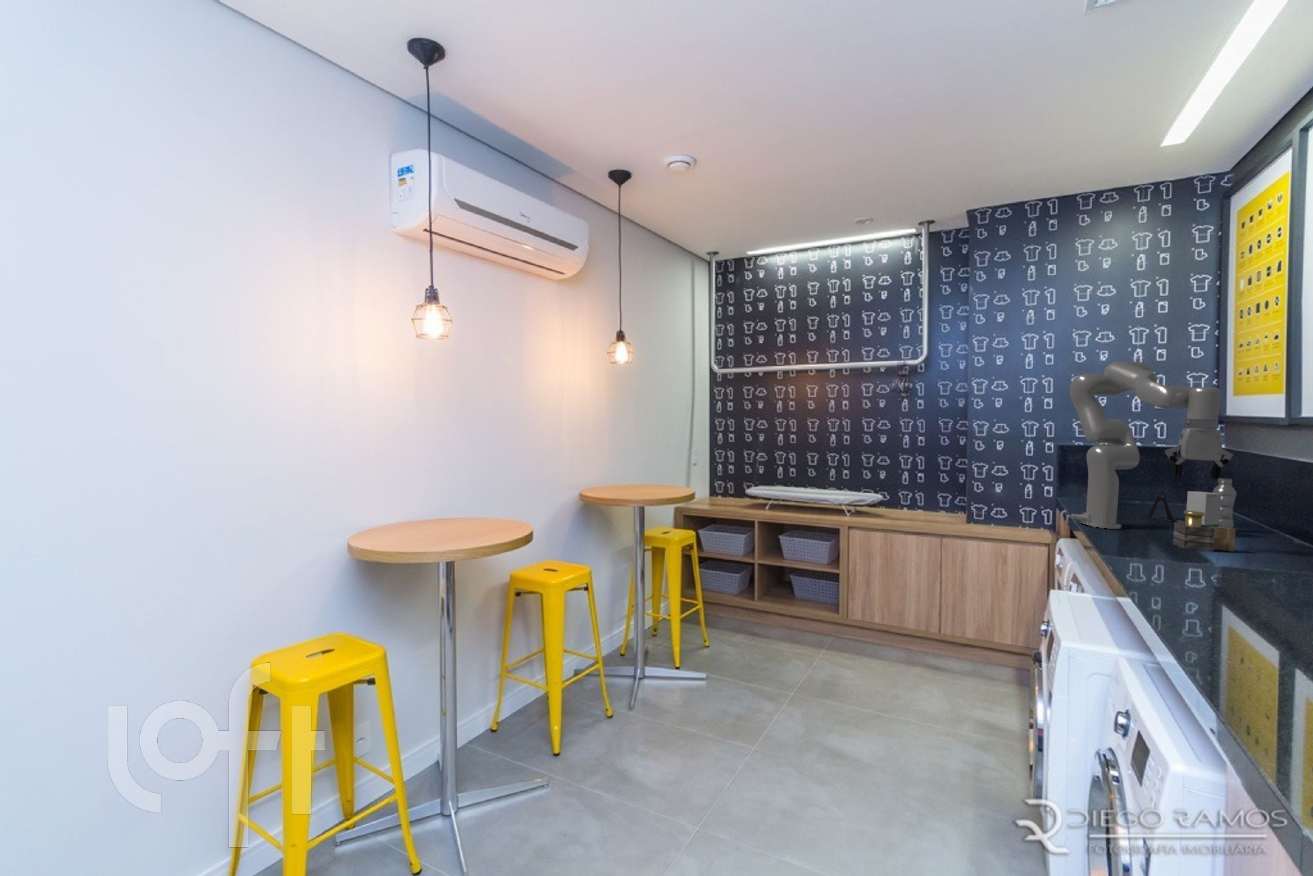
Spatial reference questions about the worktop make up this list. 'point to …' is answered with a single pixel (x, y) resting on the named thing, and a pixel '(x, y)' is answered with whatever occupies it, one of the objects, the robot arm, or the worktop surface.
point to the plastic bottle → (1226, 502)
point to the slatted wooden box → (1191, 530)
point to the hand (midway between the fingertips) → (1195, 477)
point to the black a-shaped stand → (1167, 508)
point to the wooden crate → (1213, 538)
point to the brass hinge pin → (1193, 519)
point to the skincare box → (1205, 506)
